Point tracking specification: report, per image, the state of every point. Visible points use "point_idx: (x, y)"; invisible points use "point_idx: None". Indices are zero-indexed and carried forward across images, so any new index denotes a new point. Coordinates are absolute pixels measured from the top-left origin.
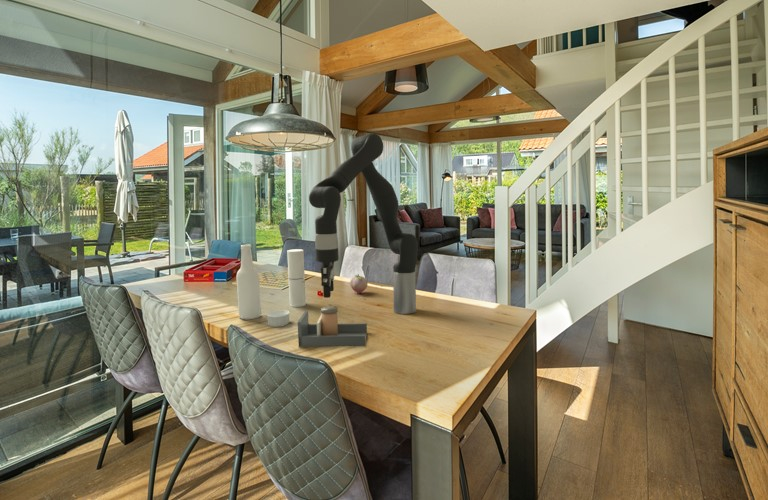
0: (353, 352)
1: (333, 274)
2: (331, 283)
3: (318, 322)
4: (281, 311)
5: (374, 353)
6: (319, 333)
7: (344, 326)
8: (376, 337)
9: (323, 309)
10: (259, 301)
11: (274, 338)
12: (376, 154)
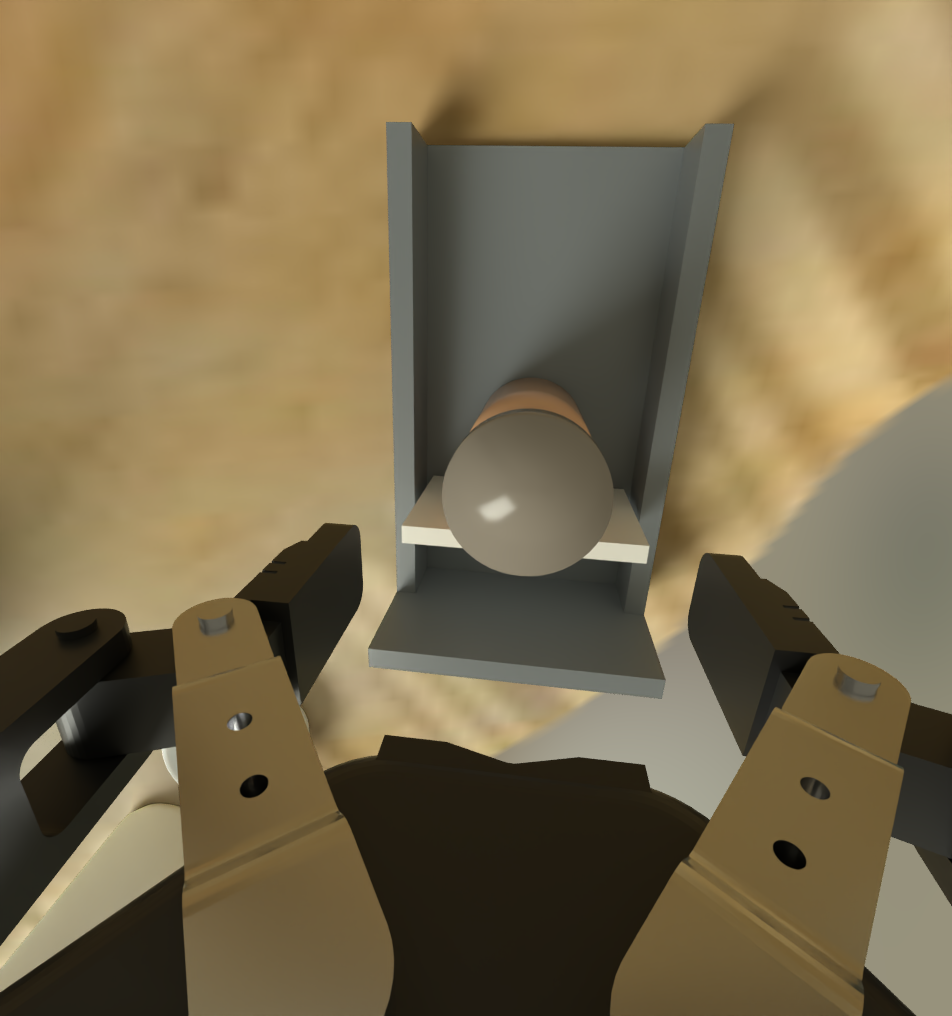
0: (805, 246)
1: (295, 700)
2: (314, 603)
3: (628, 550)
4: (174, 749)
5: (879, 58)
6: (630, 512)
7: (417, 337)
8: (526, 48)
9: (558, 553)
10: (110, 886)
11: (482, 715)
12: None
